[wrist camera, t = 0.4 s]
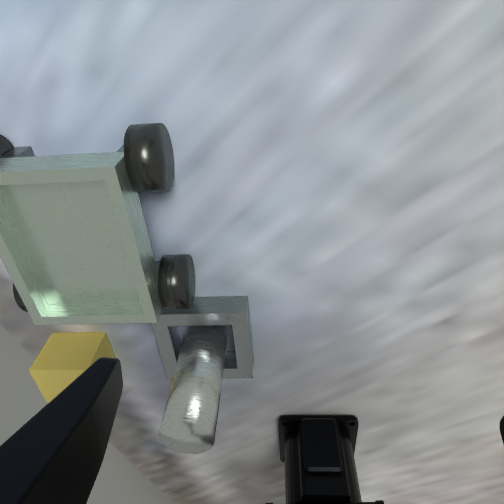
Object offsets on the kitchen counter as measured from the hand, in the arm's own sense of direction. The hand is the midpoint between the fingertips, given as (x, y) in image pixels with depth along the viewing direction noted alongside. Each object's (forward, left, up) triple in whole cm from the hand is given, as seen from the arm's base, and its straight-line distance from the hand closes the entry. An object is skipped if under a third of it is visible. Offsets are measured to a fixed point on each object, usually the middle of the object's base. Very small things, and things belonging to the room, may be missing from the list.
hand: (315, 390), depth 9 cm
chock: (-14, +15, -14) cm, 25 cm away
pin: (-12, +6, -14) cm, 19 cm away
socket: (-12, +6, -14) cm, 19 cm away
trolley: (-3, +11, -14) cm, 18 cm away
